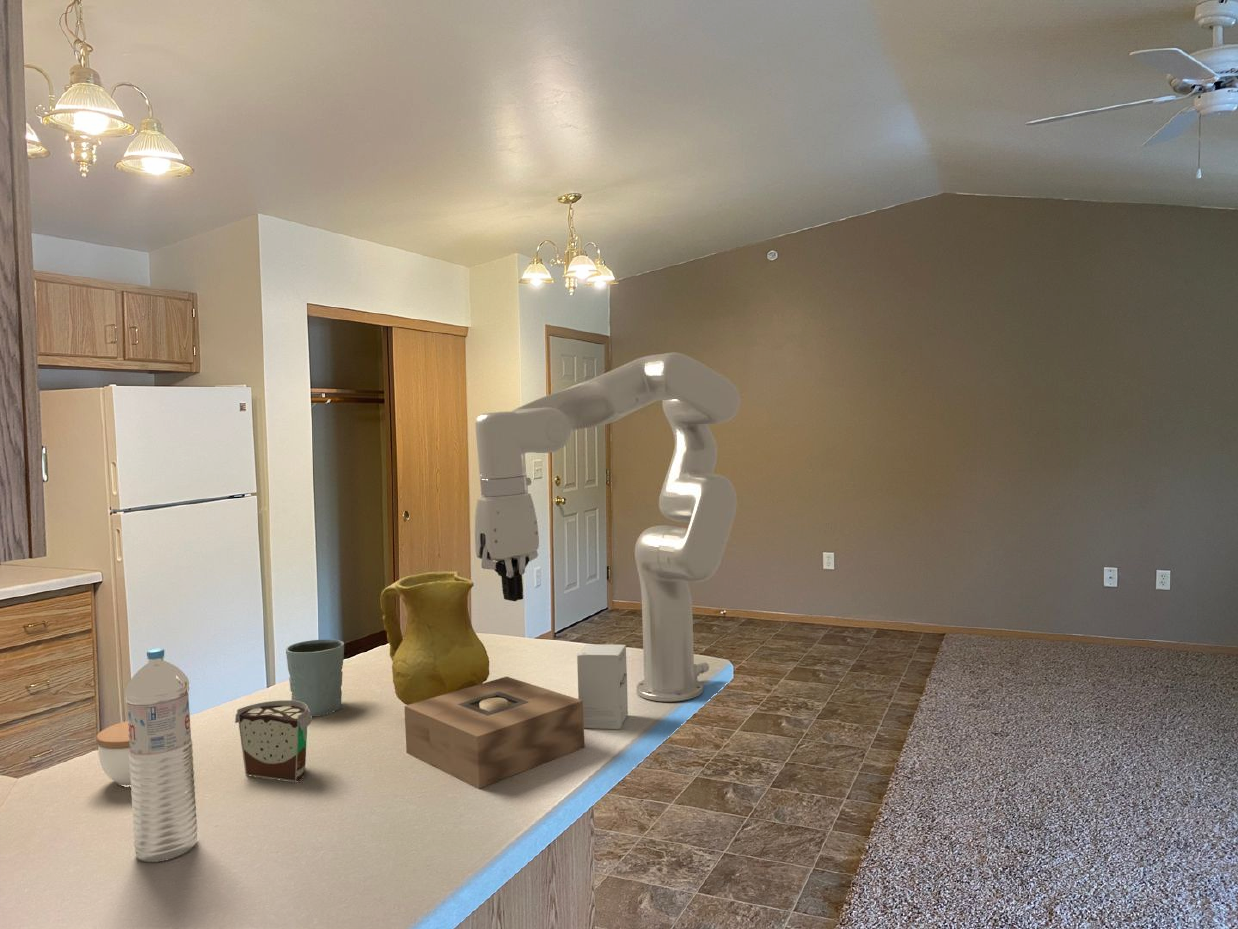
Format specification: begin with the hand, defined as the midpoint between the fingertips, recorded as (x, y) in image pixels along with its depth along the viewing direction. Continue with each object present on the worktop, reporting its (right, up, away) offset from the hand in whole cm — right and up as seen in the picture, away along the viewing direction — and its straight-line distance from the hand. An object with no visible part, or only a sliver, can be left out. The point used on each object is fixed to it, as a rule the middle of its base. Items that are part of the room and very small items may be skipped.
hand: (513, 599), depth 134 cm
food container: (-34, -25, -10) cm, 43 cm away
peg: (-2, -23, -4) cm, 23 cm away
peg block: (-2, -23, -4) cm, 24 cm away
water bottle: (-39, -26, -33) cm, 57 cm away
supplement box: (+15, -22, +7) cm, 28 cm away
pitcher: (-15, -23, +14) cm, 31 cm away
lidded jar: (-55, -26, -11) cm, 61 cm away
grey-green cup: (-39, -24, +19) cm, 49 cm away
